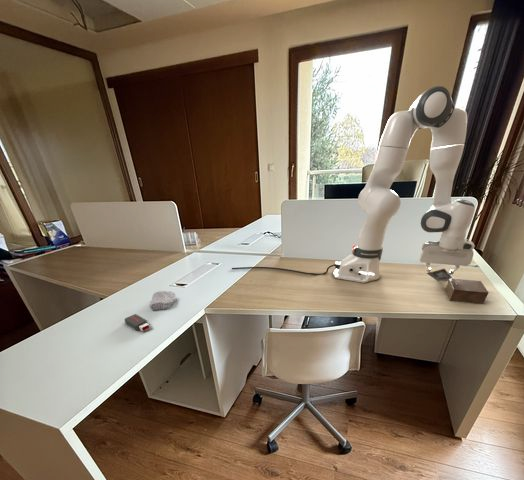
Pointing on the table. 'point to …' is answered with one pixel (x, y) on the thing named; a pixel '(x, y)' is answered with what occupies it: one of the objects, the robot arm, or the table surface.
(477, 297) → the walnut block
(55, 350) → the table surface
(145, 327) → the usb drive
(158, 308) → the stone block
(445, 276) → the paper boat
